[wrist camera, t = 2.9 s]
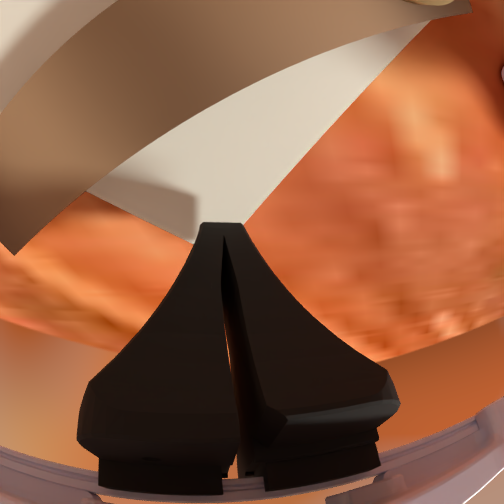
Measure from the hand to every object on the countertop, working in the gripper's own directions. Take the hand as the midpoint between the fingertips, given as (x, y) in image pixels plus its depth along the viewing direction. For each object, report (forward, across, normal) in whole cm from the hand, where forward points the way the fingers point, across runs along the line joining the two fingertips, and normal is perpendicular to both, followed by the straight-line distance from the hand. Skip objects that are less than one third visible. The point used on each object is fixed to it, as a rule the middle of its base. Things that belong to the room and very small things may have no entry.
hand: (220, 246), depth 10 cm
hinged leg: (+1, +1, -6) cm, 7 cm away
